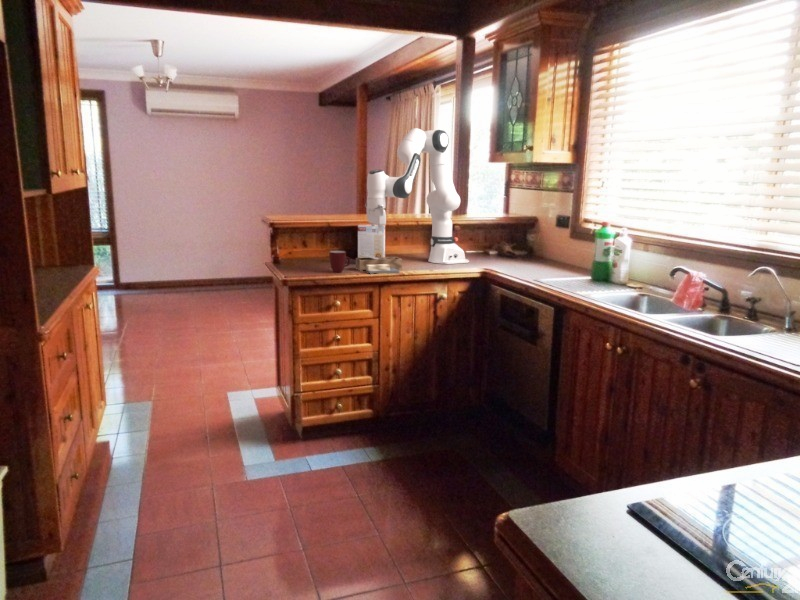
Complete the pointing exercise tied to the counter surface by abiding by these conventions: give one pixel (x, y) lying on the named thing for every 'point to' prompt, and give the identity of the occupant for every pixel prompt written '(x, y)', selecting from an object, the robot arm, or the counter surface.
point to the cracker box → (370, 241)
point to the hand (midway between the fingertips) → (376, 233)
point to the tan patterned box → (379, 262)
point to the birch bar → (378, 267)
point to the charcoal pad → (392, 270)
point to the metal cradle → (370, 256)
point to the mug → (338, 260)
